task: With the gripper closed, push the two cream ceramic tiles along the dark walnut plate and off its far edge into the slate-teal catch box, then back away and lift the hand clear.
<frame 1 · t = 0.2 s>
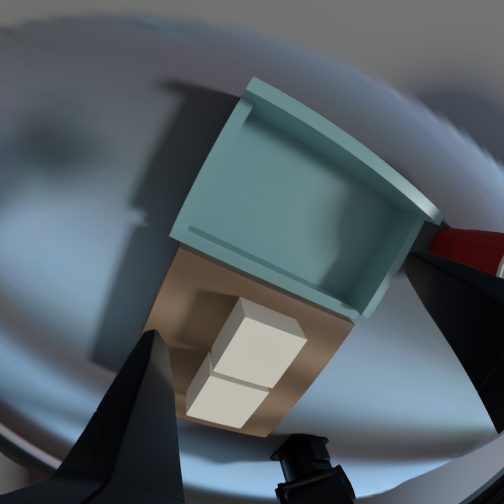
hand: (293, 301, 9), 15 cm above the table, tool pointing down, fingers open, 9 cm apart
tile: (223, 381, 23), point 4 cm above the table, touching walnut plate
catch box: (302, 212, 24), on the table
tile 1: (253, 334, 22), point 4 cm above the table, touching walnut plate
plastic cup: (443, 250, 28), on the table
walnut plate: (227, 343, 27), on the table
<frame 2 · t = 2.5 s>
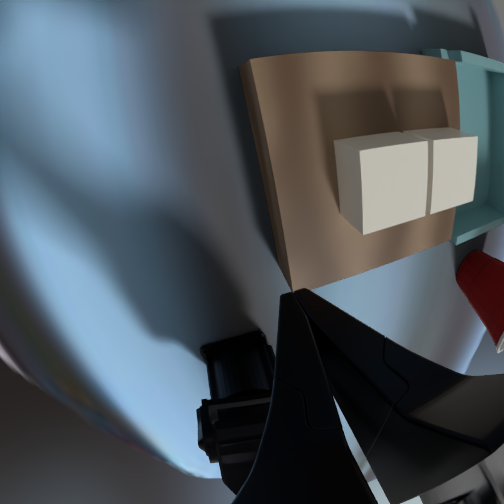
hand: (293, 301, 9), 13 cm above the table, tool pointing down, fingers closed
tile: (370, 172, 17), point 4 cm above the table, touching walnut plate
catch box: (465, 140, 22), on the table
tile 1: (428, 161, 18), point 4 cm above the table, touching walnut plate
plastic cup: (469, 266, 32), on the table
walnut plate: (358, 154, 21), on the table
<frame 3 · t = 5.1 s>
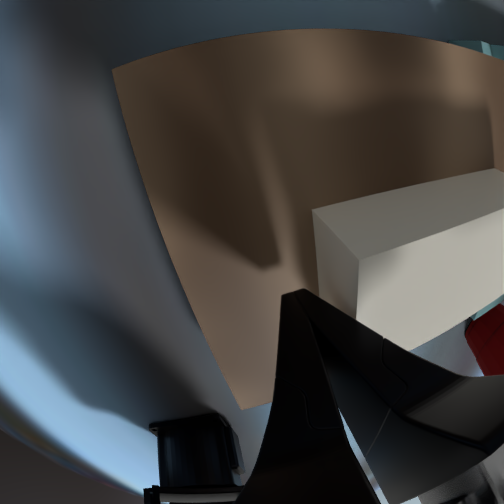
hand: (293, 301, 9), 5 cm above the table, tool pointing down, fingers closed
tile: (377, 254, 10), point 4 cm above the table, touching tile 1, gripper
catch box: (499, 173, 15), on the table
tile 1: (460, 225, 11), point 4 cm above the table, touching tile, walnut plate
plastic cup: (481, 318, 25), on the table
walnut plate: (349, 208, 14), on the table
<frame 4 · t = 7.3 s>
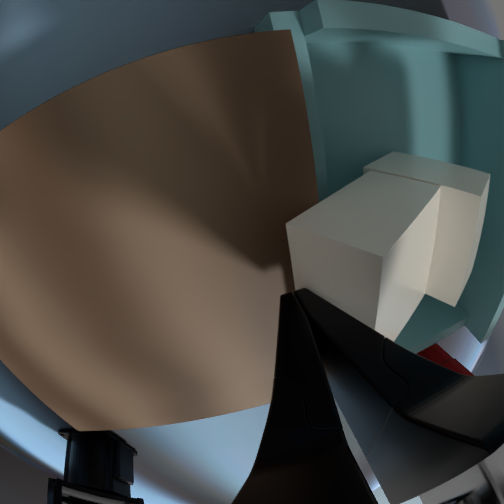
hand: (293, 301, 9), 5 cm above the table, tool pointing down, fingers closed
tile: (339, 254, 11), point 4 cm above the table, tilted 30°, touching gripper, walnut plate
catch box: (394, 196, 14), on the table
tile 1: (414, 238, 10), point 4 cm above the table, tilted 117°, touching catch box
plastic cup: (412, 358, 24), on the table
walnut plate: (128, 269, 13), on the table
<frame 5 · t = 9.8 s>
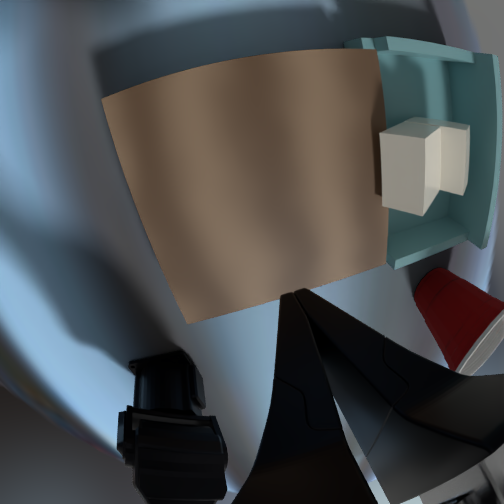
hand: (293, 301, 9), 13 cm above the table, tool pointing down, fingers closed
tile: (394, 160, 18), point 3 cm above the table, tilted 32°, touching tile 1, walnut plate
catch box: (414, 145, 21), on the table
tile 1: (435, 157, 17), point 4 cm above the table, tilted 122°, touching catch box, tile
plastic cup: (431, 284, 31), on the table
walnut plate: (260, 174, 20), on the table
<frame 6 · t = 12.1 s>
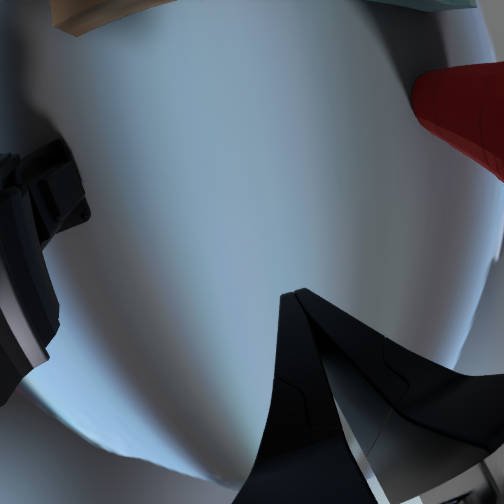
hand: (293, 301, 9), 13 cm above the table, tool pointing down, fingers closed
plastic cup: (433, 101, 19), on the table
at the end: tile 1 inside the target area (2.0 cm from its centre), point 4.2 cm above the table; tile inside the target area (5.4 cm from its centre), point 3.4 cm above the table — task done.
